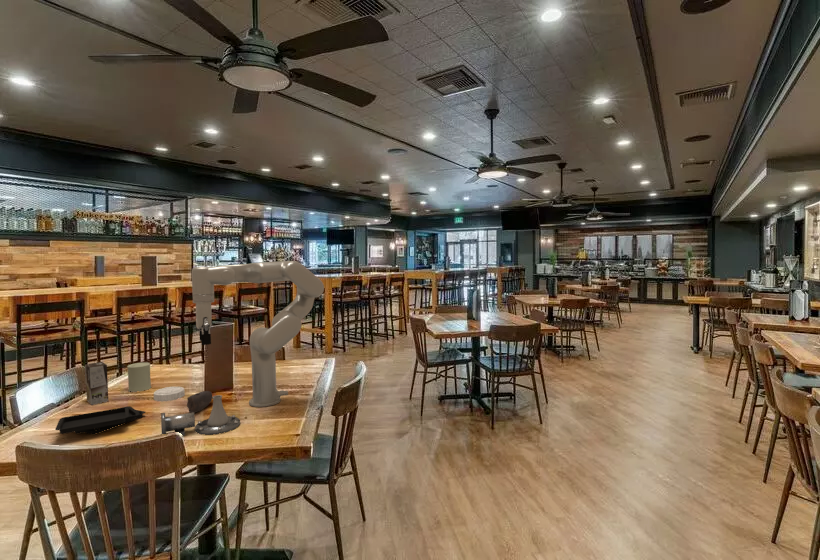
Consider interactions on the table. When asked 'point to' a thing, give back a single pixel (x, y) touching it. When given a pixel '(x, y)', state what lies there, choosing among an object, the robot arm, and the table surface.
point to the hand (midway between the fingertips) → (205, 342)
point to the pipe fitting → (188, 421)
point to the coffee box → (96, 382)
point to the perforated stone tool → (199, 401)
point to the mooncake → (169, 393)
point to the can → (139, 377)
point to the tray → (98, 420)
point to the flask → (217, 413)
